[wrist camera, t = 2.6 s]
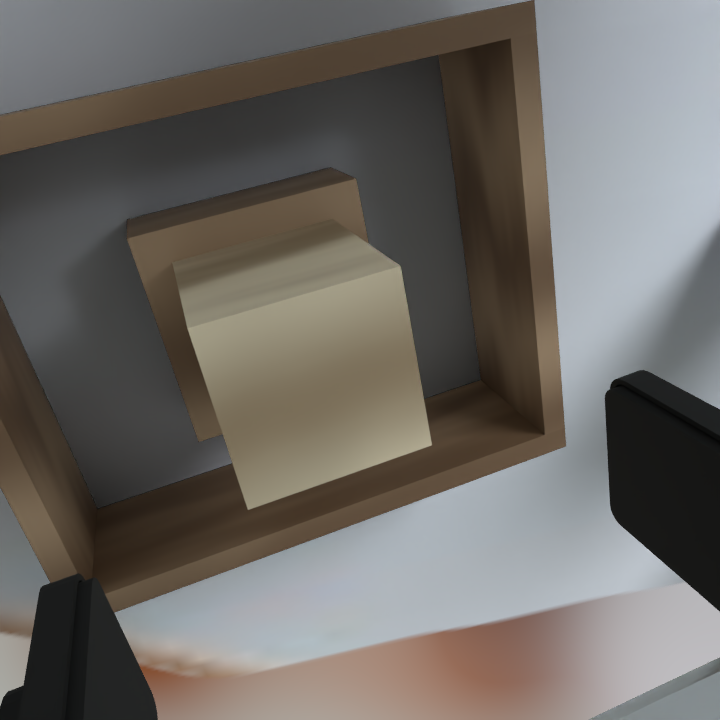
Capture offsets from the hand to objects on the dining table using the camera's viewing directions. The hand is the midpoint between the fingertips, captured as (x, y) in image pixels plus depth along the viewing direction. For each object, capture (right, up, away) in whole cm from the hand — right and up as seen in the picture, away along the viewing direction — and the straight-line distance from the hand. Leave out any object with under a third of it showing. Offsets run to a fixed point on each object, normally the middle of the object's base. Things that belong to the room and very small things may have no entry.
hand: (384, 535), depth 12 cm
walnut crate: (-4, +6, +12) cm, 14 cm away
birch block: (-3, +5, +10) cm, 11 cm away
